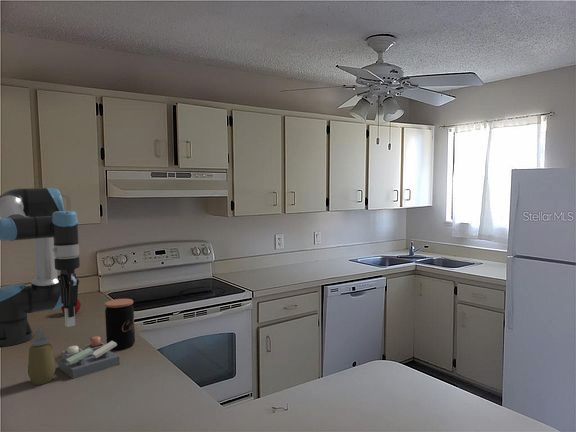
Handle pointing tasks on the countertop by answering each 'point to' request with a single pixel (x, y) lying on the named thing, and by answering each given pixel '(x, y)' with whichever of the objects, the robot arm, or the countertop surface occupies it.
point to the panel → (87, 362)
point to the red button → (95, 341)
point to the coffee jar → (120, 323)
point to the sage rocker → (79, 356)
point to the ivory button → (72, 349)
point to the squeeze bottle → (41, 360)
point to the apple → (74, 307)
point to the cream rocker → (104, 349)
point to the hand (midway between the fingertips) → (70, 325)
